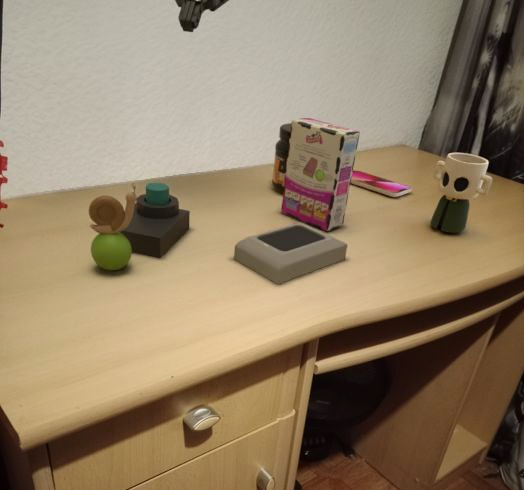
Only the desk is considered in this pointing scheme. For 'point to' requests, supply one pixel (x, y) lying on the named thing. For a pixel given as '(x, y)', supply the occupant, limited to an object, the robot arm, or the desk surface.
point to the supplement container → (281, 158)
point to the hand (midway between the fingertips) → (186, 27)
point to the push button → (157, 193)
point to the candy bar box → (319, 172)
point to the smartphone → (379, 184)
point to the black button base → (156, 226)
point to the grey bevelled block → (289, 252)
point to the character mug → (459, 189)
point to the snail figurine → (111, 230)
